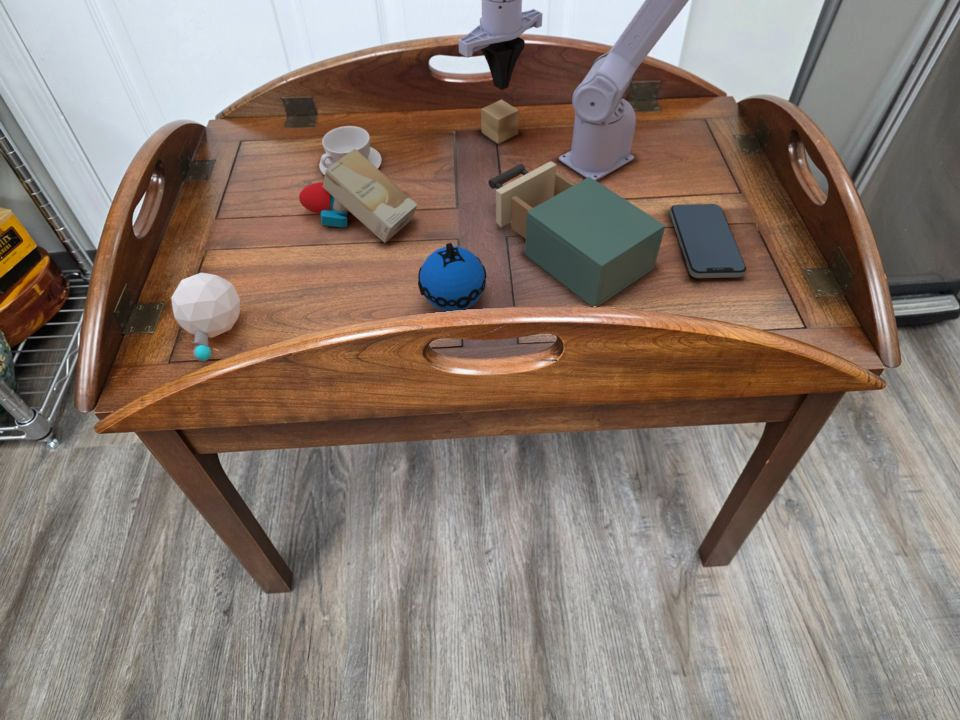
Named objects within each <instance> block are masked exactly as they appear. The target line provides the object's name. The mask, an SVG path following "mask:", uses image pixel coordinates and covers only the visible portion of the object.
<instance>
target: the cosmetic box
mask: <svg viewBox="0 0 960 720" xmlns="http://www.w3.org/2000/svg"><path fill="white" fill-rule="evenodd" d="M322 182H323V188H324V189H325V190H327V191H328V192H329V193H330V194H331V195H332V196H333V197H334V198H335V199H336V200H338V201H339V202H340V203H341V204H342V205H343V206H344V207H345V208H346V209H348V210H349V211H350V212H349V213H351V214H352V216H354V217H355V218H356V219H357V220H358V221H359V222H361V223H362V224H363V225H364V226H365V227H366V228H367V229H368V230H369V231H370V232H372V233H373V234H374V235H375V236H376V237H377V238H378V239H380V240H381V242H383V243H384V244H386V243H387V242H388V241H389V240H390V239H392V237H394V236H395V235H396V234H397V233H398V232H399V231H401V230H402V229H403V228H404V227H405V226H406V225H407V224H409V223H410V222H411V221H412V220H413V217H414V214H415V212H416V210H417V208H418V203H416V202H415V201H414V199H412V198H411V197H410V196H409V195H408V194H406V193H405V192H404V191H403V190H402V189H401V188H399V186H398V185H396V184H395V183H394V182H393V181H392V180H391V179H390V178H389V177H388V176H387V175H385V174H384V172H382V171H381V170H380V169H379V168H378V169H377V168H376V167H375V166H374V165H373V164H372V163H371V162H370V161H368V160H367V159H366V158H365V157H364V156H363V155H362V154H361V153H359V152H358V151H357V150H356V149H353V150H352V151H351V152H349V153H348V154H347V155H345V156H344V157H342V158H341V159H340V160H338V161H337V162H336V163H334V164H333V165H332V166H330V167H329V168H328V169H326V173H325V175H324V178H323V181H322Z"/></svg>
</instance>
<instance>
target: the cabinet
mask: <svg viewBox="0 0 960 720" xmlns="http://www.w3.org/2000/svg"><path fill="white" fill-rule="evenodd" d="M576 183H577V182H576ZM665 228H666V225H665V224H664V223H662V222H661V221H659V220H658V219H656V218H654V217H653V216H652V215H650V214H649V213H647V212H646V211H644V210H643V209H641V208H640V207H638V206H636V205H634V203H631V202H630V201H628V200H626V199H625V198H624V197H622V196H620V195H619V194H617V193H616V192H614V191H613V190H611V189H609V188H608V187H607V186H605V185H603V184H602V183H600V182H599V181H598V180H594V179H592V178H591V177H588V178H586V177H585V179H583V180H581V181H579V182H578V183H577V184H575V185H574V186H572V187H570V188H568V189H567V190H565V191H563V192H561V193H559V194H558V195H556V196H554V197H552V198H550V199H549V200H547V201H545V202H543V203H542V204H540V205H538V206H536V207H534V208H533V209H531V210H529V211H527V221H526V239H525V245H524V256H526V257H527V258H529V259H530V260H531V261H532V262H534V263H535V264H536V265H538V266H539V267H540V268H541V269H542V270H544V271H545V272H547V274H549V275H550V276H552V277H553V278H554V279H556V280H557V281H558V282H559V283H560V284H562V285H563V286H564V287H566V288H567V289H569V290H570V291H571V292H572V293H573V294H575V295H576V296H577V297H579V298H580V299H581V300H583V301H584V302H585V303H586V304H588V305H589V306H590V307H591V306H598V307H600V306H601V305H603V303H605V302H607V301H609V300H610V299H612V298H613V297H614V296H616V295H617V294H619V293H620V292H622V291H623V290H625V289H627V287H629V286H631V285H632V284H634V283H636V282H637V281H638V280H640V279H641V278H643V277H644V276H646V275H647V274H648V273H650V272H652V271H653V270H654V269H655V266H656V263H657V260H658V256H659V253H660V248H661V245H662V241H663V237H664V232H665Z"/></svg>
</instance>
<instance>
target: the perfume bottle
mask: <svg viewBox="0 0 960 720" xmlns="http://www.w3.org/2000/svg"><path fill="white" fill-rule="evenodd" d="M170 299H171V306H172V307H171V308H172V312H173V313H172V314H173V318H174V320H175V321H176V322H177V324H178V325H179V327H180V328H182V329H183V330H184V331H186V332H187V333H188V334H191V335H194V340H193V341H192V340H188V342H189V343H190V344H193V345H194V349H193V350H192V355H193V357H194V358H195V359H196V360H197V361H199V362H207V361H208V360H209V359H210V358H211V356H212V352H214V351H218V352H220V350H219V349H217V348H212V347H210V346H209V338H211V339H212V338H215V337H217V336H219V335H221V334H224V333H226V332H228V331H231V330H232V328H233V327H234V325H235V324H236V322H237V321H238V319H239V317H240V314H241V299H240V297H239V295H238V292H237V289H236V288H235V287H234V284H233V283H232V282H230V281H229V280H227V279H225V278H224V277H222V276H219V275H217V274H212V273H208V272H207V273H206V272H199V273H197V274H196V273H195V274H193V275H191V276H187V277H185V278H184V279H181V280H180V282H179V283H178V285H177V286H176V289H175V290H174V292H173V293H172V296H171V298H170Z"/></svg>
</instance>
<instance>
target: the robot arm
mask: <svg viewBox="0 0 960 720" xmlns="http://www.w3.org/2000/svg"><path fill="white" fill-rule="evenodd" d="M689 1H690V0H644V1H643V3H642V4H641V6H640V7H639V9H638V10H637V12H636V13H635V15H633V17H632V18H631V20H630V21H629V23H628V25H626V27H625V29H624V30H623V32H622V33H621V34H620V35H619V38H618V39H617V40H616V42H615V43H614V44H613V45H612V47H611V48H610V50H608V51H607V52H606V53H604V54H602V55H599V56H598V57H596V59H595V60H594V62H593V63H592V65H591V68H590V69H589V71H588V73H586V75H585V77H584V78H583V79H582V81H581V82H580V84H578V86H577V87H576V88H575V89H574V91H573V93H572V99H571V104H572V108H573V110H574V121H573V130H572V139H571V140H572V141H571V148H570V149H571V150H569V151H567V152H566V153H564V154H562V155H560V156H558V161H559V162H561V163H563V164H564V165H565V166H567V167H568V168H570V169H571V170H573V171H575V172H576V173H578V174H579V175H581V176H582V177H584V178H585V179H586V178H588V177H591V178H592V179H594V180H596V181H599V180H601V179H602V178H604V177H605V176H607V175H609V174H611V173H612V172H614V171H616V170H617V169H620V168H621V167H624V166H625V165H627V164H628V163H630V162H632V161H634V159H635V156H634V155H633V154H631V151H632V146H633V141H634V134H635V130H636V125H637V117H636V116H637V115H636V112H635V110H634V107H633V106H632V104H631V103H630V102H629V101H628V100H626V99H625V98H623V96H624V94H625V92H626V91H627V90H628V88H629V87H630V85H631V83H632V80H633V75H634V74H635V72H636V71H637V70H638V68H639V67H640V65H641V64H642V63H643V62H644V60H645V59H646V58H647V56H648V55H649V53H650V52H651V51H652V50H653V49H654V47H655V46H656V44H657V43H658V42H659V41H660V40H661V38H662V36H663V35H664V34H665V33H666V31H668V29H669V27H670V26H671V25H672V24H673V22H674V21H675V19H676V18H677V17H678V16H679V14H680V13H681V11H682V10H683V9H684V8H685V6H686V5H687V4H688V2H689ZM522 8H523V0H481V17H480V18H479V25H477V26H476V27H474V29H472V30H471V31H470V32H469V33H468V34H466V35H464V36H463V37H461V38H458V53H459V54H461V55H462V56H464V57H466V58H470V57H473V53H475V52H477V51H481V53H482V54H483V56H484V58H485V61H486V63H487V67H488V68H489V71H490V76H491V80H492V83H493V86H494V87H495V88H497V89H498V90H501V91H503V90H506V89H508V88H509V87H510V83H511V80H512V76H513V72H514V69H515V66H516V63H517V61H518V59H519V57H520V56H521V54H522V52H523V50H524V49H525V45H526V44H525V43H526V42H525V41H526V40H525V39H523V38H521V35H523V34H524V33H525V32H526V31H527V30H530V29H533V28H535V29H538V28H541V27H542V26H543V12H541V11H539V10H537V9H535V8H532V9H530V10H526V11H522V10H523V9H522Z"/></svg>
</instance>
